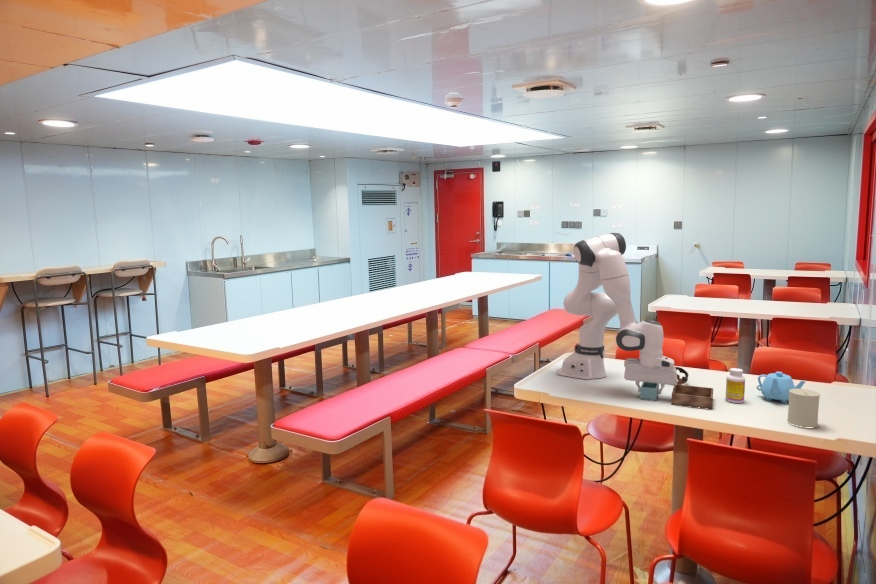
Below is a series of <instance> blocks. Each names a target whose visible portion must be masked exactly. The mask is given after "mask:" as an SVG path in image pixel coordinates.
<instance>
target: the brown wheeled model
mask: <svg viewBox="0 0 876 584" xmlns="http://www.w3.org/2000/svg"><path fill="white" fill-rule="evenodd" d="M674 367H675V368H676V371H679V373H681V374H684V375H685V376H682V377H681V375H680V374H678V373H677V383H676V384H679V385H685V384H686V383H687V382H688V379H689V372H687V371H686V370H685V369H684V368H682V367H681V366H674ZM680 377H681V378H680Z"/></svg>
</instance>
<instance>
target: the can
mask: <svg viewBox="0 0 876 584" xmlns="http://www.w3.org/2000/svg"><path fill="white" fill-rule="evenodd" d="M820 395H821V394H820V393H819V392H818V391H815V390H813V389H807V388H806V389H805V388H801V389H790V390H789V400H788V408H787V409H788V410H787V419H786V422H787V421H788V422H789V423H791V424H794V425H798V426H802V427H817V426H819V425H818V422H819V407H820ZM817 428H818V427H817Z"/></svg>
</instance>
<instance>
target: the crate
mask: <svg viewBox="0 0 876 584" xmlns="http://www.w3.org/2000/svg"><path fill="white" fill-rule="evenodd" d="M713 400H714V387H704V386H696V385H687V384H681V385H679V384H677V383H676V384H675V385H673V389H672V391H671V400H670V401H671V402H670V403H671V404H670V405H672V406H679V405H681V407H687V406H691V407H690V408H695V407H700V408H699V409H703V408H708V409H707V410H711V409H712V410H713V402H714V401H713Z"/></svg>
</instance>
